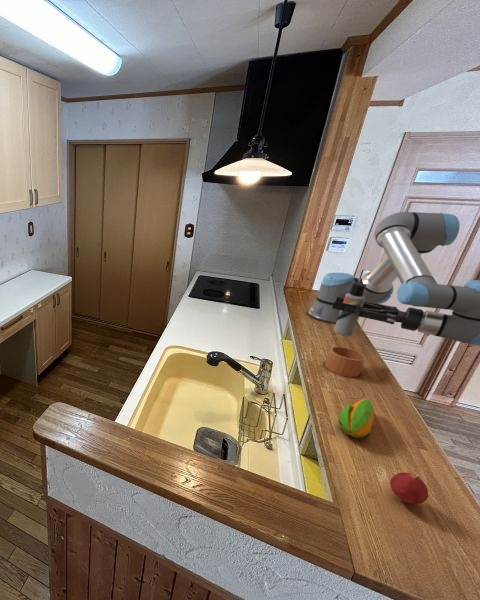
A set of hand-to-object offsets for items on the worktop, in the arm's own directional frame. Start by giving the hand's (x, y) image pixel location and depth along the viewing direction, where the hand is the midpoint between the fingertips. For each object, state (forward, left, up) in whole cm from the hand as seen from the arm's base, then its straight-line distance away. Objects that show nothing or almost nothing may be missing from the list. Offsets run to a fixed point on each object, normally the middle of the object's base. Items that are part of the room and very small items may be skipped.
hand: (334, 302), depth 122 cm
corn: (+6, +42, -23) cm, 48 cm away
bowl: (-5, +9, -23) cm, 25 cm away
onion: (+8, +67, -23) cm, 71 cm away
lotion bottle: (-5, +3, -11) cm, 12 cm away
